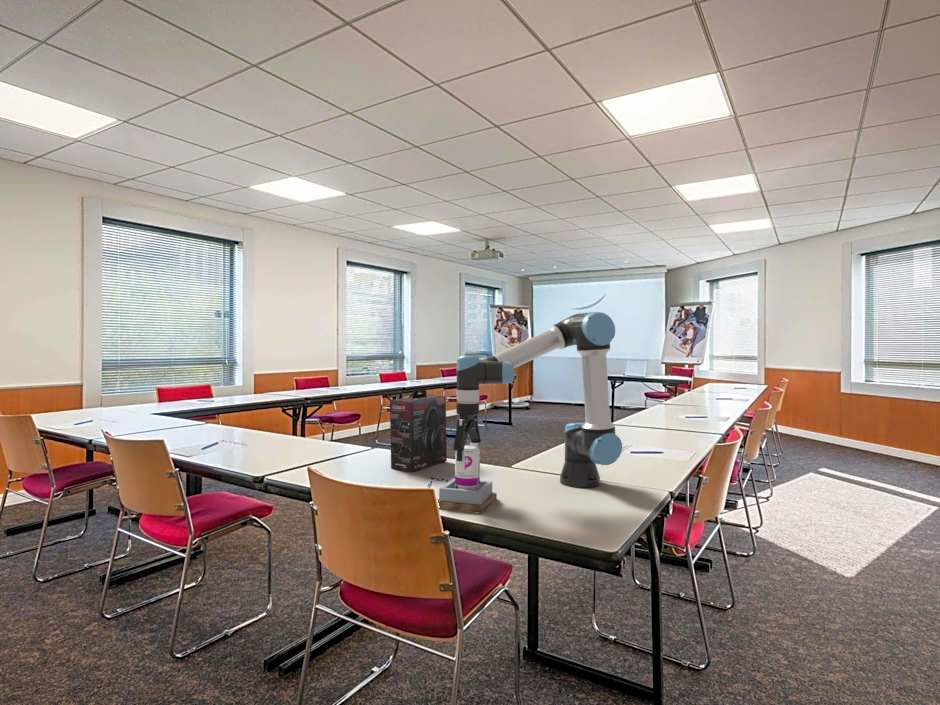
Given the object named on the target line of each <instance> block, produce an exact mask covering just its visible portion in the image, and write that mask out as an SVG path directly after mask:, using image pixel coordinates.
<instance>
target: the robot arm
mask: <svg viewBox="0 0 940 705" xmlns="http://www.w3.org/2000/svg"><path fill="white" fill-rule="evenodd" d="M615 335H616V325H615V323H614V321H613V319H612V317H610V316H609V315H608V314H607V313H604V312H600V311H590V312H583V313H581V312H580V313H575V314H572V315H570V316H568V317H566V318H565V319H563V320H561V321H558V322H557V323H555V324H553V325H551V326H550V327H549V329H548V330H546V331H544V332H542V333H540V334H537V335H535V336H533V337H530V338H528V339H526V340H525V341H521V342H520V343H518V344H515V345H512V346H511V347H508V348H506V349H505V350H502V351H500V352H497V353H494V354H493V355H491V356H489V357H487V358H484V359H480V357H479V356H478V355H460V356H458V357H457V360H456V369H455V371H456V391H455V395H456V405H455V406H456V414H457V415H458V416H459V415H460V416H461V417H460V418H457V419H456V420H457V421H456V431H455V436H454V442H453V448H452V450H453V451H455V455H456V471H465V451H464V447H465V445H466V442H467V438H468V435H469V439H470V442H469V445H472V446H477V447H478V448H479V444H480V443H481V441H482V440H481V433H480V427H479V420H478V417H479V416H478V415H479V414H480V403H479V401H480V385H505V384H512V383H513V381H514V379H515V368H518V367H520V366H522V365H524V364H527V363H529V362H530V361H533V360H535V359H537V358H539V357H541V356H543V355H546V354H548V353H550V352H552V351H555V350H557V349H559V350H563V349H565V348H568V347H572V346H576V351H577V353H579V354H580V357H581V367H582V383H583V384H582V385H583V398H584V414H585V416H584V417H585V422H572V423H570V422H569V423H566V424H565V428H564V463H563V466H562V469H561V471H560V474H559V482H560V484H562V485H565V486H568V487H573V488H574V487H575V488H594V487H598V486H600V484H601V477H600V472H599V471H598V467H597V465H601V466H609V465H612V464H614V463H615V462H616V461H617V460H618V459H619V458H620V456H621V454H622V451H623V442H622V440H621V438H620V437H619V436H618V435H617V434H616V426H615V424H614V423H613V422H612V421H611V414H610V413H611V412H610V396H609V383H608V382H609V379H608V378H609V377H608V362H607V361H608V359H607V354H608V352H610V350H611V342H612V341H613V340H614V339H615Z"/></svg>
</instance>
